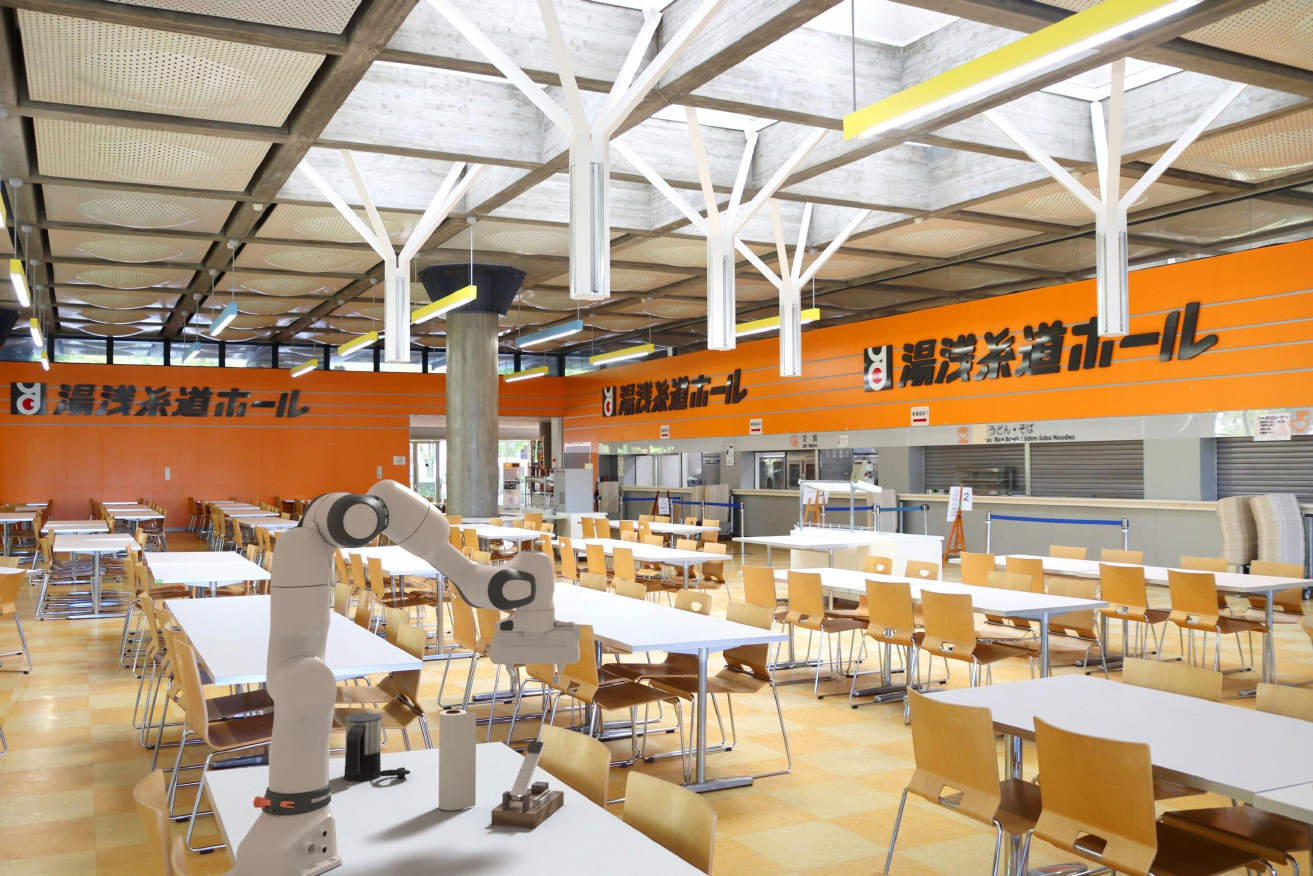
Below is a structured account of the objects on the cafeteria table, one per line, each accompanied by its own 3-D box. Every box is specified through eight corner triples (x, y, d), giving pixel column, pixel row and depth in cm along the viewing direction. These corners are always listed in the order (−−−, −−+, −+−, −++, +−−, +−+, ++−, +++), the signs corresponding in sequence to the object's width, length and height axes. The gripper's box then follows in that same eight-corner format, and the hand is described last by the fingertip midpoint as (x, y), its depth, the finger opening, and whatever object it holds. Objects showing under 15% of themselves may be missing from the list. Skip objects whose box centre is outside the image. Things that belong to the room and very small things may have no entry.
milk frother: (343, 773, 258) (344, 714, 258) (407, 768, 262) (408, 710, 263) (343, 788, 244) (344, 726, 245) (410, 783, 249) (411, 721, 249)
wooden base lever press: (535, 828, 214) (535, 797, 215) (491, 824, 217) (491, 793, 217) (563, 804, 231) (563, 775, 231) (522, 801, 233) (523, 772, 234)
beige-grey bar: (522, 802, 217) (520, 797, 216) (509, 801, 218) (507, 796, 217) (544, 746, 230) (543, 741, 229) (532, 745, 230) (530, 740, 230)
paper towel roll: (432, 809, 228) (433, 712, 229) (450, 802, 233) (451, 707, 234) (458, 814, 224) (459, 715, 225) (475, 806, 230) (476, 710, 231)
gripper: (582, 619, 233) (582, 681, 232) (493, 620, 234) (494, 681, 233) (579, 623, 226) (579, 686, 226) (488, 624, 227) (488, 686, 227)
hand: (535, 683), depth 229 cm, fingers open, 8 cm apart
